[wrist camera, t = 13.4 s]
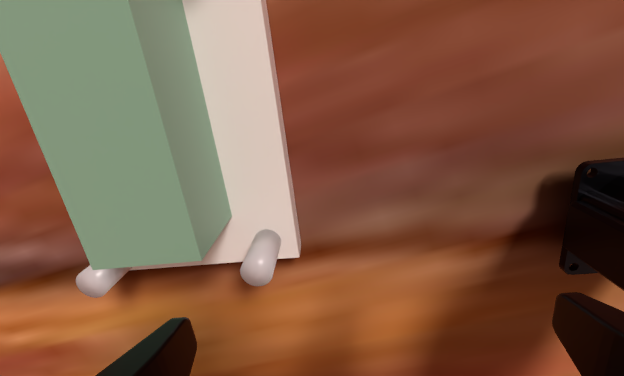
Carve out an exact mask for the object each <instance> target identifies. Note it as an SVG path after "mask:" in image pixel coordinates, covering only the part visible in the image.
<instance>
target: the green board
mask: <svg viewBox="0 0 624 376" xmlns="http://www.w3.org/2000/svg"><path fill="white" fill-rule="evenodd" d="M0 53H1V55H2V57H3V60H4V62H5V65H6V67H7V69H8V72H9V74H10V76H11V79H12V81H13V83H14V86H15V88H16V90H17V93H18V95H19V98H20V100H21V102H22V105H23V107H24V109H25V112H26V114H27V116H28V119H29V121H30V123H31V126H32V128H33V131H34V133H35V135H36V138H37V140H38V142H39V145H40V147H41V149H42V152H43V154H44V156H45V159H46V161H47V164H48V166H49V168H50V171H51V173H52V175H53V178H54V180H55V182H56V185H57V187H58V190H59V192H60V194H61V197H62V199H63V201H64V204H65V206H66V208H67V211H68V213H69V215H70V218H71V220H72V223H73V225H74V227H75V230H76V232H77V234H78V237H79V239H80V241H81V244H82V246H83V248H84V251H85V253H86V256H87V258H88V260H89V263H90V265H91V267H92V270H101V269H112V268H124V267H136V266H147V265H159V264H171V263H182V262H194V261H202V260H203V258H204V257H205V255H206V254H207V252H208V251H209V249H210V248H211V246H212V245H213V244H214V242H215V241H216V239H217V238H218V236H219V235H220V233H221V232H222V230H223V229H224V227H225V226H226V224H227V223H228V221H229V220H230V218H231V217H232V214H231V210H230V205H229V201H228V197H227V192H226V188H225V184H224V179H223V175H222V171H221V166H220V162H219V158H218V153H217V149H216V145H215V141H214V136H213V132H212V128H211V123H210V119H209V115H208V110H207V106H206V102H205V97H204V93H203V89H202V84H201V80H200V76H199V72H198V67H197V63H196V59H195V54H194V50H193V46H192V41H191V37H190V33H189V28H188V24H187V20H186V15H185V11H184V7H183V3H182V0H0Z"/></svg>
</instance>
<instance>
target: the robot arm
mask: <svg viewBox="0 0 624 376" xmlns="http://www.w3.org/2000/svg"><path fill="white" fill-rule="evenodd" d="M589 169H591V172H590V173H589V174H588V175H587V172H588V170H589ZM571 264H572V265H571ZM570 265H571V266H570ZM559 267H560V268H561V269H562V270H563V271H564V272H566V273H567V274H571V275H574V274H589V273H600V274H601V275H603V276H604V277H605V278H607V279H608V280H609V281H611V282H612V283H614V284H615V285H616V286H618V287H619V288H621V289H622V290H623V291H624V158H616V159H605V160H594V161H586V162H583V163H581V164H580V165H579V166H578V167H577V169H576V171H575V177H574V182H573V188H572V194H571V200H570V205H569V210H568V216H567V221H566V227H565V233H564V239H563V244H562V251H561V256H560V262H559ZM552 325H553V328H554V331H555V333H556V335H557V336H558V338H559V339H560V341H561V343H562V344H563V346H564V348H565V349H566V351H567V353H568V354H569V356H570V358H571V359H572V361H573V363H574V364H575V366H576V367H577V369H578V371H579V372H580V374H581V376H624V312H623V311H621V310H619V309H616V308H614V307H612V306H609V305H607V304H605V303H602V302H600V301H598V300H595V299H593V298H591V297H589V296H586V295H584V294H581V293H577V292H574V293H561V294H559V295H558V296H557V297H556V302H555V307H554V313H553V319H552ZM196 350H197V342H196V338H195V335H194V332H193V328H192V325H191V322H190V320H189V319H188V318H186V317H182V318H172V319H170V320H169V321H167V322H166V323H165V324H163V325H162V326H161V327H159V328H158V329H157V330H155V331H154V332H153V333H151V334H150V335H149V336H147V337H146V338H145V339H144V340H142V341H141V342H140V343H138V344H137V345H136V346H134V347H133V348H132V349H130V350H129V351H128V352H126V353H125V354H124V355H122V356H121V357H120V358H118V359H117V360H116V361H114V362H113V363H112V364H110V365H109V366H108V367H106V368H105V369H104V370H102V371H101V372H100V373H98V374H97V375H96V376H190V372H191V369H192V365H193V361H194V358H195V354H196Z"/></svg>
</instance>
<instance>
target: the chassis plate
mask: <svg viewBox="0 0 624 376" xmlns="http://www.w3.org/2000/svg"><path fill="white" fill-rule="evenodd" d="M182 3H183V7H184V11H185V15H186V20H187V24H188V28H189V33H190V37H191V41H192V46H193V50H194V54H195V59H196V63H197V67H198V72H199V76H200V80H201V84H202V89H203V93H204V97H205V102H206V106H207V110H208V115H209V119H210V123H211V128H212V132H213V136H214V141H215V145H216V149H217V153H218V158H219V162H220V166H221V171H222V175H223V179H224V184H225V188H226V192H227V197H228V201H229V205H230V210H231V214H232V217H231V218H230V220H229V221H228V223H227V224H226V226H225V227H224V229H223V230H222V232H221V233H220V235H219V236H218V238H217V239H216V241H215V242H214V244H213V245H212V246H211V248H210V249H209V251H208V252H207V254H206V255H205V257H204V258H203V260H202V261H194V262H182V263H171V264H159V265H147V266H136V267H124V268H112V269H101V270H92V267H91V265H90V266H88V267H87V268H86V269H85V270H83V271H82V272H81V273H80V274H79V275H78V276H77V278H76V284H77V287H78V288H79V290H80V291H81V292H82V293H84V294H85V295H87V296H90V297H95V298H97V297H101V296H103V295H104V294H106V293H107V292H108V291H109V290H110V289H111V288H112V287H113V286H114V285H115V284H116V283H117V282H118V281H119V280H120V279H121V278H122V277H123V276H124V275H125V274H126V273H127V272H128V271H129V270H140V269H153V268H167V267H180V266H193V265H206V264H219V263H232V262H243V263H242V266H241V268H240V274H241V277H242V278H243V280H244V281H245V282H247V283H248V284H250V285H253V286H263V285H266V284H267V283H269V282H270V280H271V279H272V276H273V272H274V269H275V265H276V261H277V259H284V258H297V257H299V255H300V249H301V240H300V233H299V226H298V219H297V212H296V205H295V198H294V191H293V184H292V178H291V171H290V164H289V157H288V150H287V143H286V136H285V129H284V122H283V115H282V108H281V102H280V95H279V88H278V81H277V74H276V67H275V60H274V53H273V46H272V39H271V33H270V26H269V19H268V12H267V5H266V0H182Z"/></svg>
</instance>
